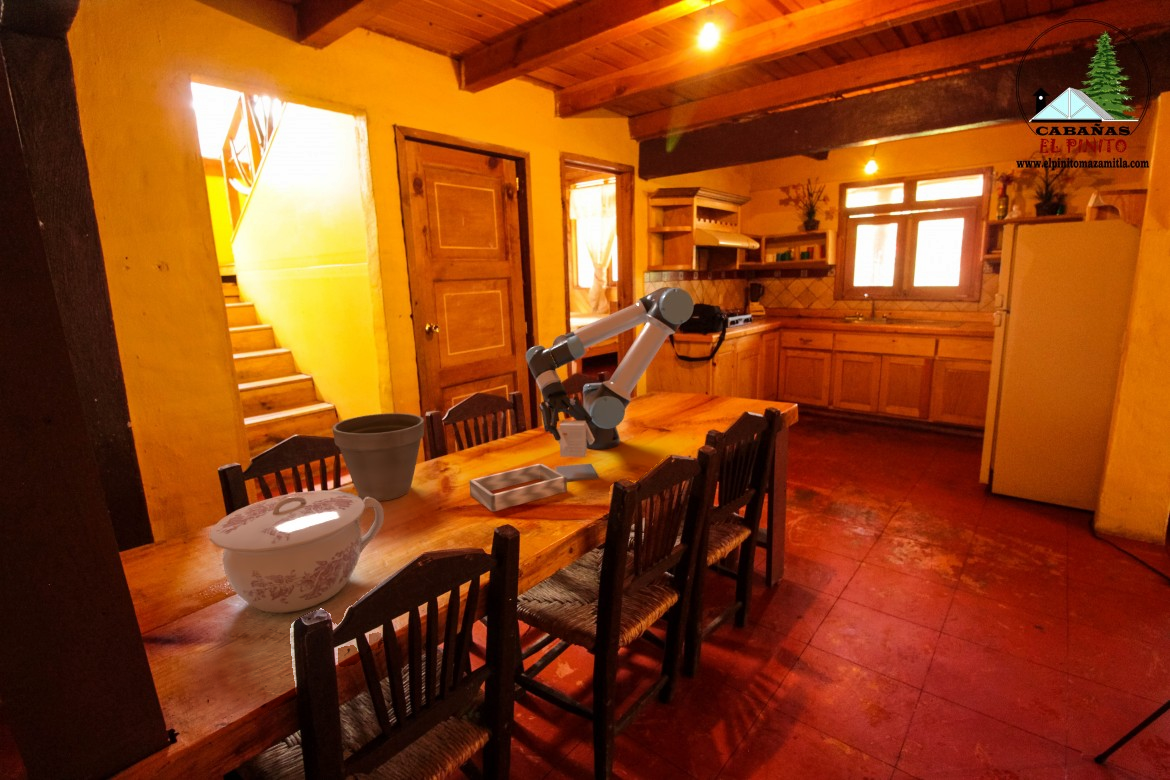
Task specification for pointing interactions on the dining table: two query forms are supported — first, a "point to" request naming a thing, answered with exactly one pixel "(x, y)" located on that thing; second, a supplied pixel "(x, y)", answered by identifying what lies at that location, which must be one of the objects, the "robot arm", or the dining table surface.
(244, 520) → the chamber pot
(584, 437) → the small box
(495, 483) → the crate
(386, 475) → the plant pot
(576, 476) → the plate
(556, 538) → the dining table surface
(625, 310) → the robot arm
